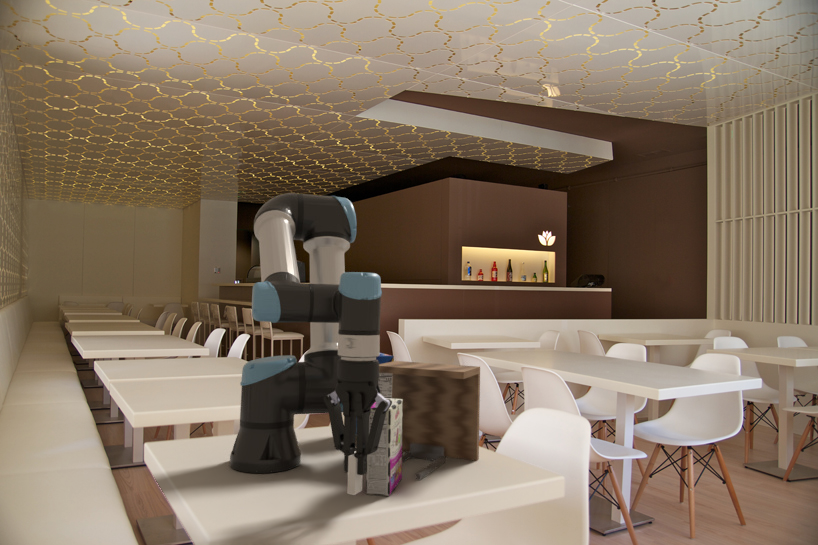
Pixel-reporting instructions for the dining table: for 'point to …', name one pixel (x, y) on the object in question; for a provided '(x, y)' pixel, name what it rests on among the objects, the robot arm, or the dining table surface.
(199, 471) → the dining table surface
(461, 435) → the overhang shelf
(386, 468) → the candy bar box
